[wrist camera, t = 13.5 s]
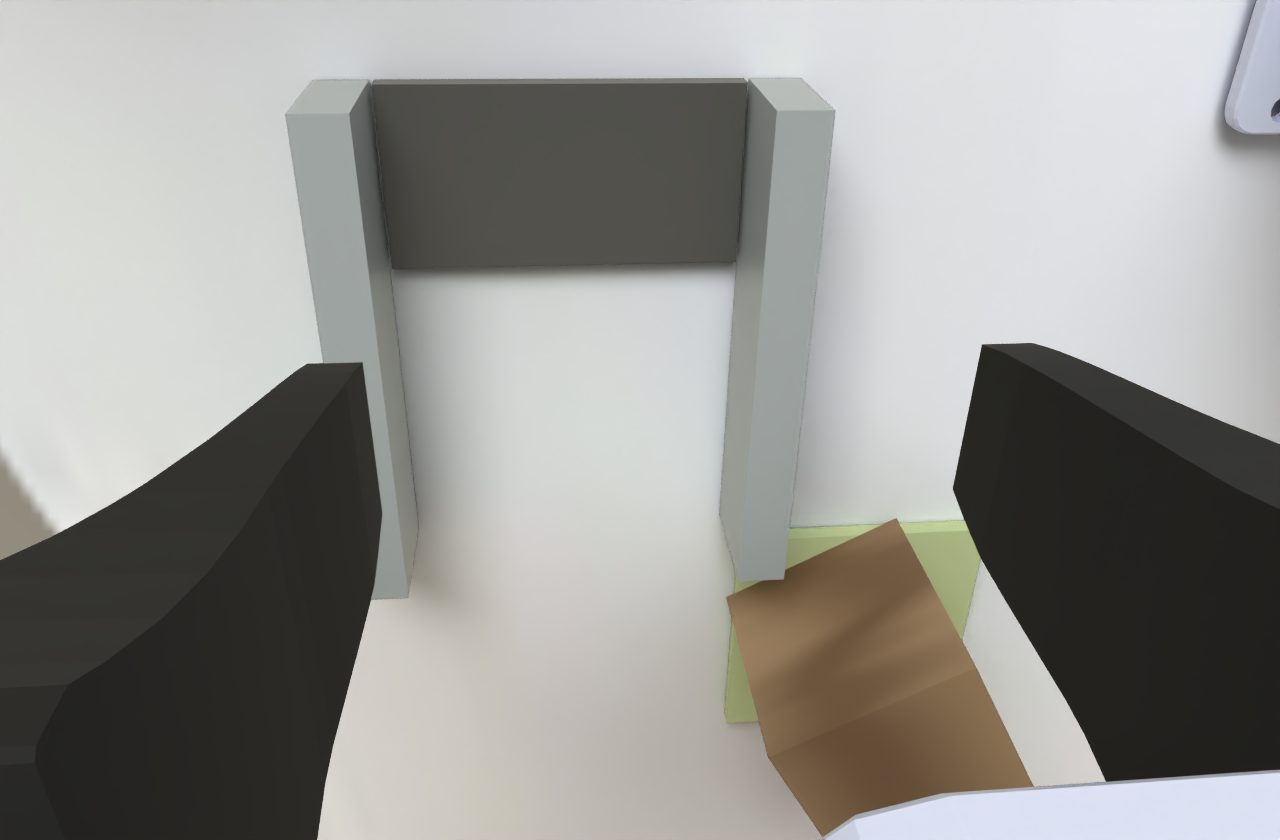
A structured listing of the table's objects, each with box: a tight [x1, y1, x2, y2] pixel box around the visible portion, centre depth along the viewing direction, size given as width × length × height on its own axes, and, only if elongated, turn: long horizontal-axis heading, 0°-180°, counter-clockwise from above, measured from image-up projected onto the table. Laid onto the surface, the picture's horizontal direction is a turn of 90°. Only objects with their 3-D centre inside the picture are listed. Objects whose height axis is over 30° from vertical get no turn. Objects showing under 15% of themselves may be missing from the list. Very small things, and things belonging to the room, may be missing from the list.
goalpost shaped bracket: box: [285, 78, 835, 600], centre depth 21 cm, size 9×10×2 cm
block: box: [726, 518, 1034, 837], centre depth 24 cm, size 4×4×5 cm
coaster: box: [724, 521, 981, 723], centre depth 26 cm, size 6×6×1 cm
